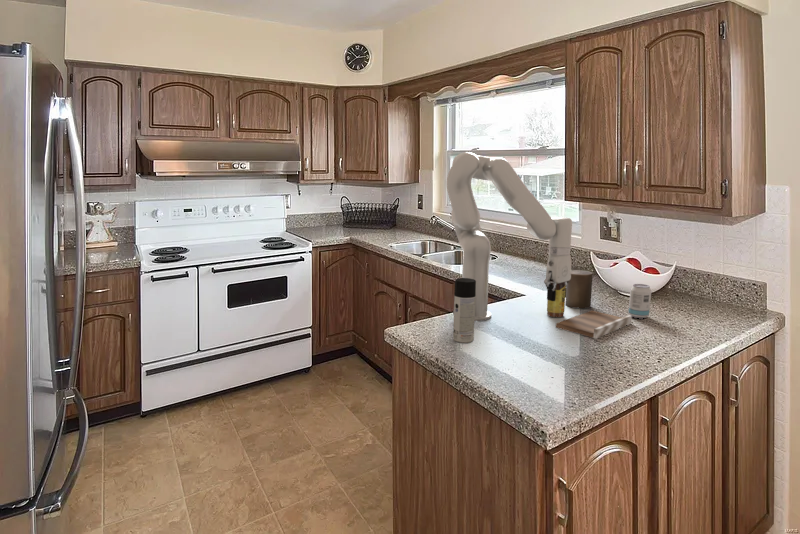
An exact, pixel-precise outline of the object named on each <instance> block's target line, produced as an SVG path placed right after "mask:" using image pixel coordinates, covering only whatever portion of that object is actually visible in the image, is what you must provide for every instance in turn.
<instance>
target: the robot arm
mask: <svg viewBox="0 0 800 534" xmlns="http://www.w3.org/2000/svg"><path fill="white" fill-rule="evenodd" d="M473 179H476V180H481V181H482V180H483V181H489V182H490V181H491V182H492V184H493V185H494V186H495V188H496V189H497V191H498V192H499V193H500V195H501V196H502V198H504V200H505V202H506V203H507V204H508V206H510V207H511V208H512V209H513V210H515V211H516V212H517V213H518V214H519V215H520V216H521V217H522V218H523V219H524V220H525V221H526V222H527V224H526V230H527V232H528V233H529V234H530V235H531V236H532V237H535V238H537V239H539V240H542V241H548V240H549V243H548V257H547V262H546V263H547V264H546V271H545V272H546V273H545V279H544V281H543V282H544V285H545V288H546V290H547V293H546V301H547V300H550V301H555V297H556V291H555V287H556V284H559V283H563V282H565V284H566V287H567V286H568V285H567V283H568V282H569V280H570V279H571V271H572V256H571V246H572V245H571V244H572V230H573V229H572V228H573V220H572V219H571V218H570V217H563V216H560V217H559V216H558V217H557V216H556V217H551V215H550V214H549V213H548V212H547V210H546V209H545V207H544V206H543V205H542V204H541V203H540V202H539V200H538V199H537V197H535V196H534V194H533V193H532V192H531V191H530V190H529V188H528V187H527V186H526V185H525V183H524V182H523V181H522V179H521V178H520V176H519V175H518V173H517V172H516V171H515V169H514V168H513V166H512V165H511V163H510V162H509V161H508V160H507V159H505V158H503V157H489V156H483V155H477V154H475V153H473V152H470V151H469V152H468V151H465V152H461V153H458V154H457V155H456V156H455V157H454V158H453V161H452V165H451V167H450V168H449V171H448V174H447V177H446V191H447V194H448V199H449V202H450V205H451V208H452V209H451V215H450V217H451V221H452V225H453V228H454V232H455V235H456V237H457V240H458V243H459V246H460V248H461V250H462V251H463V258H462V269H461V270H462V272H461V273H462V274H461V276H462V277H461V278H470V279H474V280H476V296H475V320H474V322H483V321H487V319H488V320H489V319H491V318H492V313H491V312H490V311H489V310H488V300H489V299H488V298H489V295H488V294H489V278H490V277H489V268H490V259H491V253H492V247H491V242H490V239H489V238H488V236H486V235H485V234H484V233H483V232H482V228H481V225H480V221H481V214H480V211H479V208H478V206H477V202H476V200H475V199H476V198H475V195H474V193H473V188H472V180H473ZM551 280H553V281H554V282H552V281H551ZM551 283H552V284H553V286H552V285H551ZM565 299H566V290H565ZM452 314H453V315H454V310H452Z"/></svg>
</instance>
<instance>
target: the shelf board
mask: <svg viewBox="0 0 800 534" xmlns="http://www.w3.org/2000/svg"><path fill="white" fill-rule="evenodd" d="M632 318H633V317H632V316H631V315H629V314H628V315H625V316H623V317H621V316H617V315H614V314H609V313H605V312H600V311H596V310H590V311H587V312H584V313H581V314H578V315H576V316H572V317H570V318H567V319H564V320H561V321H559V322H556V323H555V328H556V329H557V328H558V329H561V330H564V331H568V332H571V333H575V334H579V335H582V336H585V337H590V338H593V339H599V338H601V337H603V336H605V335H607V334H610V333H613V332H615V331H617V330H619V328H620V329H623V328H625V327H626V325H627V326H629V325H631V324H632Z"/></svg>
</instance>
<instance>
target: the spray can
mask: <svg viewBox="0 0 800 534" xmlns="http://www.w3.org/2000/svg"><path fill="white" fill-rule="evenodd" d="M475 296H476V280H474V279H470V278H462V277H458V278H456V279H455V281H454V297H453V301H454V302H453V311H454V314H453V328H452V329H453V330H452V331H453V332H452V335H453V337H452V338H453V341H454V342H455V343H459V344H468V343H469V342H470V343H473V341H474V339H475V321H474V320H475ZM470 343H469V344H470Z"/></svg>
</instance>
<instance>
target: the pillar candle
mask: <svg viewBox="0 0 800 534" xmlns="http://www.w3.org/2000/svg"><path fill="white" fill-rule="evenodd" d="M593 274H594V272H592V271H588V270H582V269H579V270H576V269H575V270H574V269H573V270H572V269H571V279H570V280H569V282H568V283H567V285H568V286H567V287H566V298H565V306H566V307H568V308H569V307H570V308H575V309H581V310H582V309H589V308H591V306H592V294H593V293H592V291H593V289H592V287H593V277H594V275H593Z"/></svg>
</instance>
